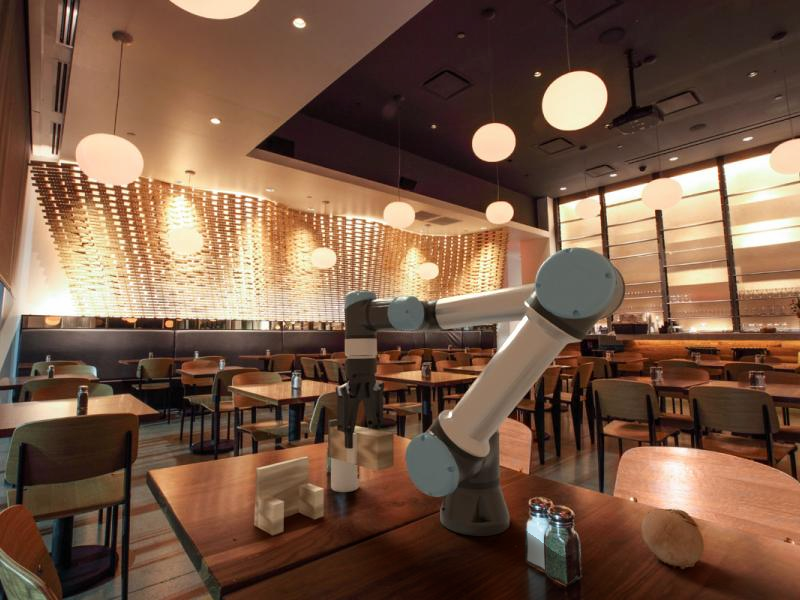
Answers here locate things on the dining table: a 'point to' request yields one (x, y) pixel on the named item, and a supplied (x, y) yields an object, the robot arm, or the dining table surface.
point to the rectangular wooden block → (363, 446)
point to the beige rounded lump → (672, 537)
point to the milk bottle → (344, 476)
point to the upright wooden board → (285, 494)
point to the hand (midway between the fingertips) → (361, 459)
